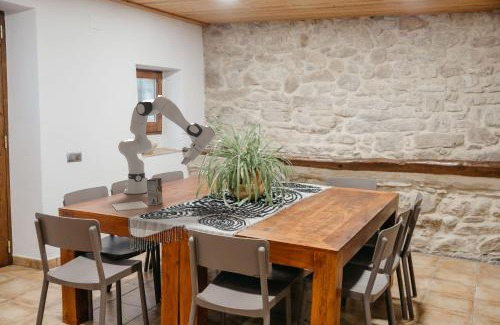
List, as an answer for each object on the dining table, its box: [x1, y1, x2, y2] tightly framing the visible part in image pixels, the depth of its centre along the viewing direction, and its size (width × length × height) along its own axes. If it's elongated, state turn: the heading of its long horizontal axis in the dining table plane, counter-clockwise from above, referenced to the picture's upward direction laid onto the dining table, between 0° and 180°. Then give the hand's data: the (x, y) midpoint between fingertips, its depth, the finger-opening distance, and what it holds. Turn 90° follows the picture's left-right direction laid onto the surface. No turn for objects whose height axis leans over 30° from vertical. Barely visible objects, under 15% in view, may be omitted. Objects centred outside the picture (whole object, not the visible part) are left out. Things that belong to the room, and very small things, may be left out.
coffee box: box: [146, 177, 164, 206], centre depth 297 cm, size 9×6×16 cm
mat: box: [111, 200, 149, 212], centre depth 292 cm, size 20×19×1 cm
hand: (183, 164), depth 303 cm, fingers open, 8 cm apart
